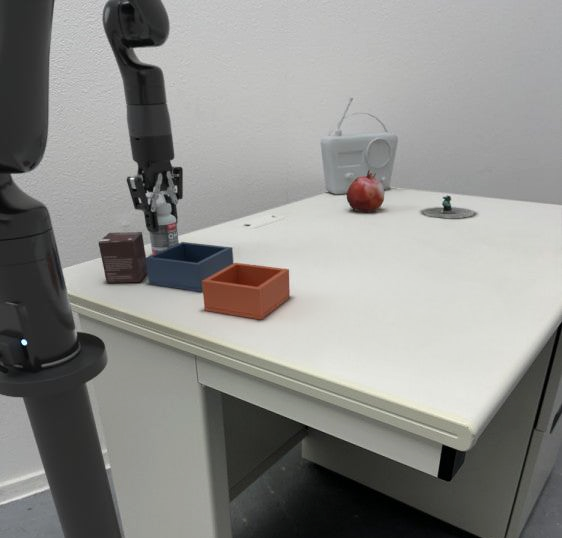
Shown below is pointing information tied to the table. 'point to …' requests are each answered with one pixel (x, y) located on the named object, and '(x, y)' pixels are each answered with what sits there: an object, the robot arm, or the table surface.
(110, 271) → the box
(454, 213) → the sculpture
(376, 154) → the radio
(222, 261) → the slate bin
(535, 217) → the table surface
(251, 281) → the terracotta bin
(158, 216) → the pill bottle
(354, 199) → the fruit
